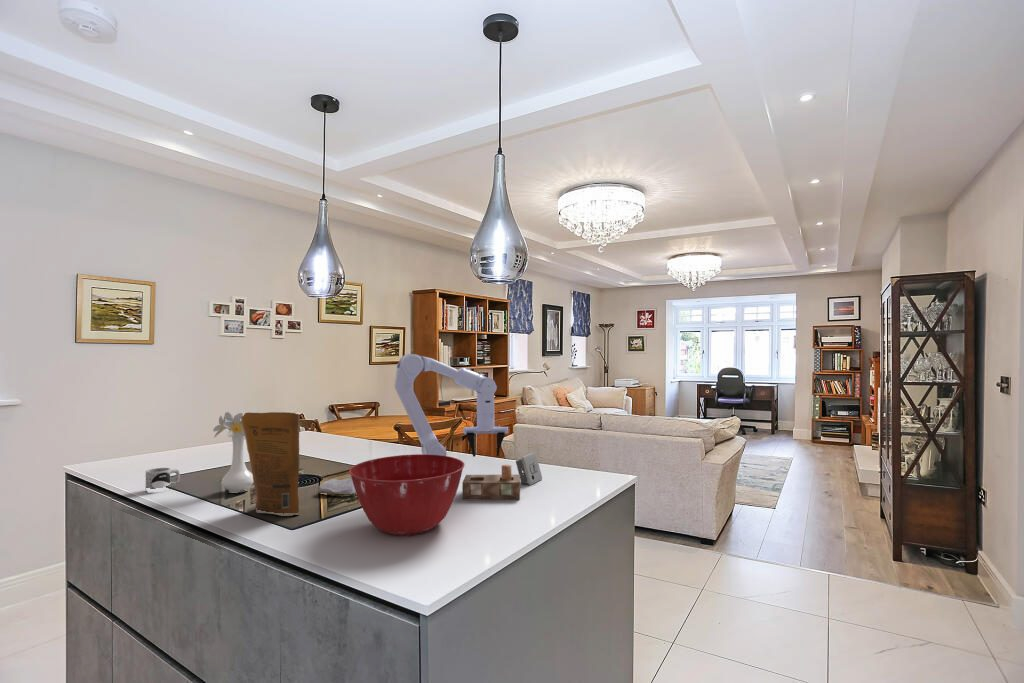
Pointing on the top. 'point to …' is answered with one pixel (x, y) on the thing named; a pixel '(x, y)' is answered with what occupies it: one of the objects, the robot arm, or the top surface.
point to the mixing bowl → (407, 491)
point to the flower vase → (235, 454)
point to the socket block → (490, 487)
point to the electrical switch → (529, 469)
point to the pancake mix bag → (274, 459)
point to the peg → (506, 473)
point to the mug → (160, 477)
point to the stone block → (337, 486)
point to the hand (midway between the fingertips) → (486, 455)
